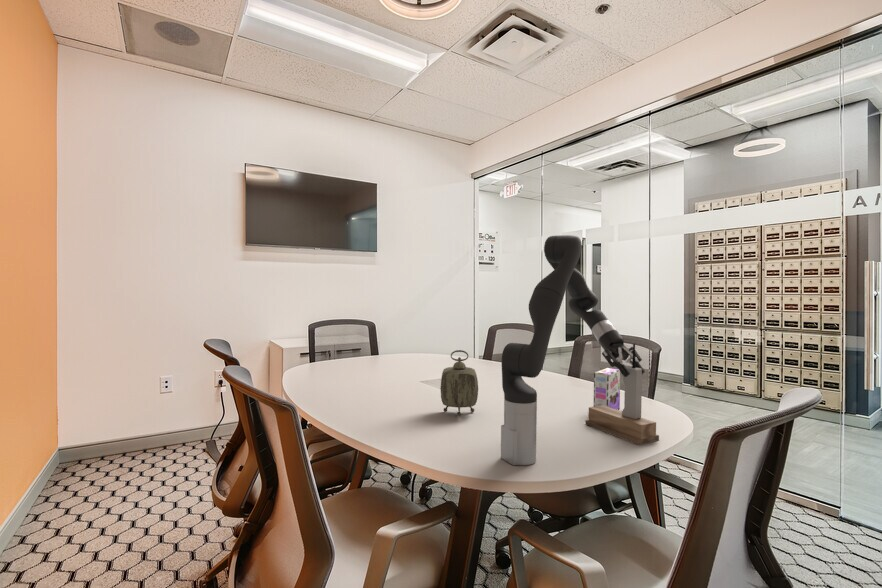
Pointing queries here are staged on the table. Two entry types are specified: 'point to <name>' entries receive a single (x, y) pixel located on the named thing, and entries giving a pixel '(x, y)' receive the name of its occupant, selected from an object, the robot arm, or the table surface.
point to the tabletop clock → (459, 385)
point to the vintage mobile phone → (633, 391)
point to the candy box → (607, 388)
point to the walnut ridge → (622, 425)
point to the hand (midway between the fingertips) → (635, 374)
